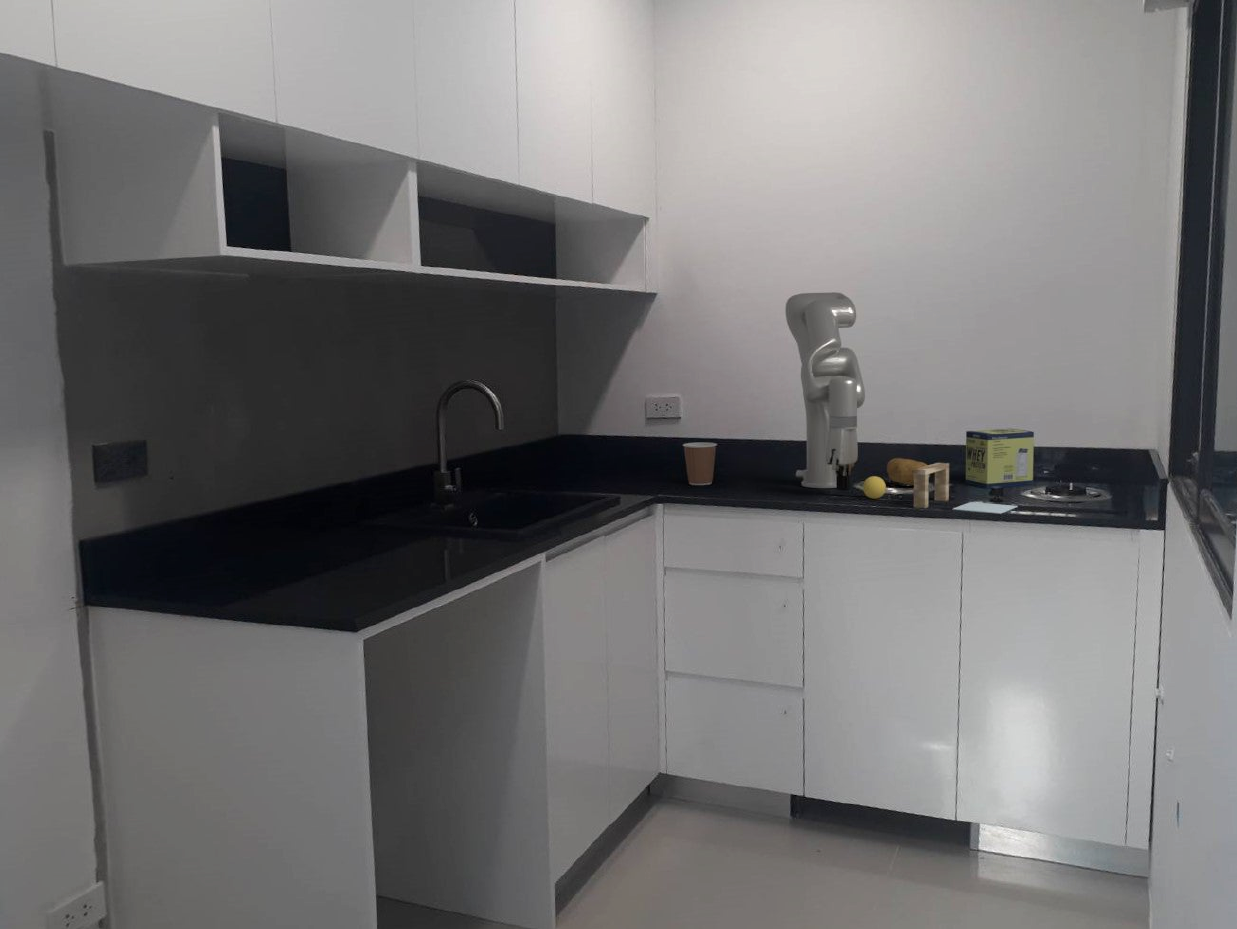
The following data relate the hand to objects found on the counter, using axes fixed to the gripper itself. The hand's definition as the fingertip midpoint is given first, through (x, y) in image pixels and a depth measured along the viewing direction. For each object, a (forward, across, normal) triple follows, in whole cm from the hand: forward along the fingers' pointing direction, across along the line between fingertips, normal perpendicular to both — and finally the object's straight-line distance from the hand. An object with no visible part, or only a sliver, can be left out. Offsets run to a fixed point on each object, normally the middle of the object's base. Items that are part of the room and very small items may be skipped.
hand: (843, 489), depth 285 cm
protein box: (+2, -40, +28) cm, 49 cm away
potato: (+2, -24, +8) cm, 26 cm away
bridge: (+2, 0, +25) cm, 25 cm away
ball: (-1, 0, +9) cm, 9 cm away
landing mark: (+2, 0, +39) cm, 39 cm away
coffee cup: (+2, 0, -48) cm, 48 cm away
